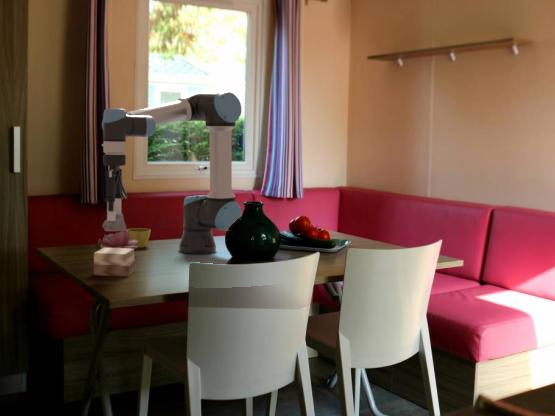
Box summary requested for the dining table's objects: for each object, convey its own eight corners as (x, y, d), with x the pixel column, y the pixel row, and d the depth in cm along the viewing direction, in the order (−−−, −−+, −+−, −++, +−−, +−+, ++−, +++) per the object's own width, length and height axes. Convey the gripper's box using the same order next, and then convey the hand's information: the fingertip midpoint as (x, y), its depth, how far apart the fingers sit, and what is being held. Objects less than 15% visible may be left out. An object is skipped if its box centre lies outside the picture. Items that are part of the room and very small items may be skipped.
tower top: (134, 259, 259) (134, 248, 259) (125, 265, 248) (125, 254, 248) (104, 258, 260) (103, 247, 259) (93, 264, 249) (93, 253, 248)
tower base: (135, 270, 260) (135, 259, 260) (128, 277, 248) (128, 265, 248) (102, 269, 260) (102, 258, 260) (93, 276, 248) (93, 265, 248)
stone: (100, 232, 247) (100, 215, 247) (107, 228, 257) (107, 212, 257) (124, 232, 247) (124, 215, 247) (130, 228, 257) (130, 212, 257)
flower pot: (130, 244, 312) (131, 227, 311) (153, 245, 310) (153, 228, 309) (122, 248, 302) (122, 230, 301) (146, 249, 300) (146, 232, 300)
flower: (145, 251, 280) (140, 226, 280) (108, 258, 272) (103, 233, 273) (133, 255, 293) (128, 231, 293) (98, 263, 285) (92, 238, 286)
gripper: (110, 152, 260) (110, 214, 263) (96, 155, 238) (96, 222, 241) (131, 152, 260) (130, 214, 263) (119, 155, 238) (119, 223, 241)
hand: (114, 218), depth 252 cm, fingers closed on stone, 9 cm apart
